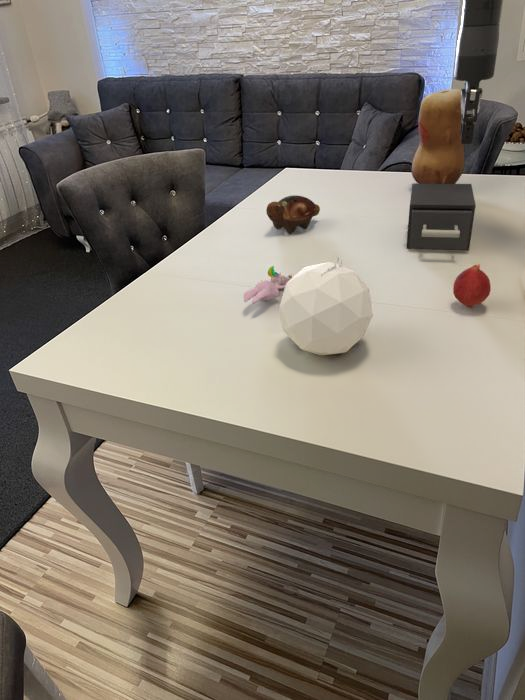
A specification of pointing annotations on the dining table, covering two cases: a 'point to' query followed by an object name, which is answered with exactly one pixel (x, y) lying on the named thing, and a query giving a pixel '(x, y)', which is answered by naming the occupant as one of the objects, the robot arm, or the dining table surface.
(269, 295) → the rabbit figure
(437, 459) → the dining table surface
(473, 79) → the robot arm
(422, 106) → the butternut squash
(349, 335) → the geodesic sphere
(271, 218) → the decorative turtle
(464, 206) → the cabinet
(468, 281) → the onion
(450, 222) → the drawer
